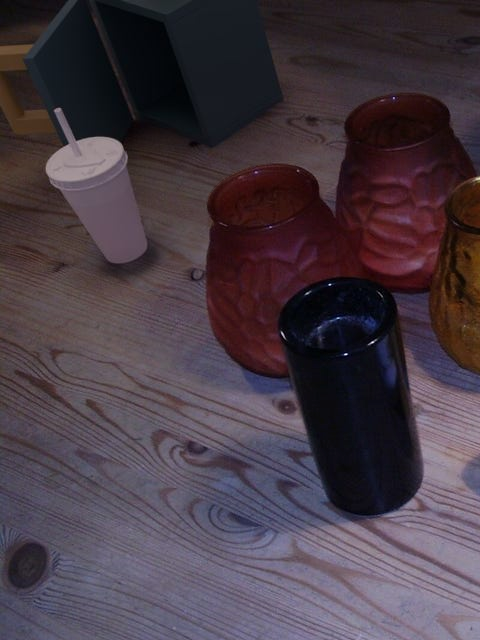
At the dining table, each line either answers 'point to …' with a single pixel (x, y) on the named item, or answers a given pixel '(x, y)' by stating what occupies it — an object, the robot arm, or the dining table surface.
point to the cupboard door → (67, 80)
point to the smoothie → (99, 192)
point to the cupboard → (191, 63)
